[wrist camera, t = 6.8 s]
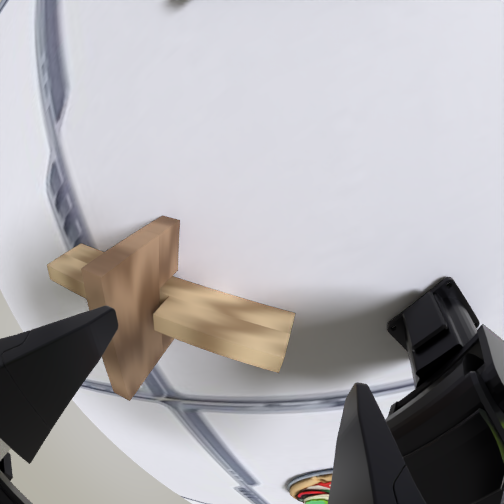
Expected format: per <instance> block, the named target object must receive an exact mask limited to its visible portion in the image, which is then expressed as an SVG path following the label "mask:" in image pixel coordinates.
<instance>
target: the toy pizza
mask: <svg viewBox="0 0 504 504" xmlns="http://www.w3.org/2000/svg"><path fill="white" fill-rule="evenodd" d="M332 473H333V469H331V470H325V471H320V472H315V473H311V474H307V475H304V476H301V477H299V478H297V479H295V480H293V481H292V482H290V483H289V485H288V491H289V492H290V495H291V496H292V497H294V498H295V499H297V500H298V501H301V502H303V503H304V504H328V499H329V493H330V487H331V480H332Z"/></svg>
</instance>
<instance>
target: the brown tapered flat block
mask: <svg viewBox="0 0 504 504" xmlns="http://www.w3.org/2000/svg"><path fill="white" fill-rule="evenodd" d="M179 228H180V220H177V219H173V218H169V217H165V216H161V217H159V218H158V219H156V220H154V221H153V222H151V223H150V224H148V225H146V226H145V227H143V228H141V229H140V230H138V231H137V232H135V233H133V234H132V235H130V236H129V237H127V238H126V239H124V240H123V241H121V242H119V243H118V244H116V245H115V246H113V247H112V248H110V249H109V250H107V251H106V252H104V253H103V254H101V255H100V256H98V257H97V258H95V259H94V260H92V261H91V262H90V263H88V264H87V265H85V266H84V267H82V268H81V271H82V277H83V282H84V288H85V293H86V297H87V302H88V306H89V311H90V310H93V309H96V308H99V307H102V306H105V305H107V306H110V307H112V308H114V309H115V311H116V315H117V319H118V324H119V325H118V330H117V332H116V333H115V335H114V337H113V338H112V340H111V342H110V343H109V345H108V347H107V348H106V350H105V352H104V354H103V355H102V358H103V362H104V365H105V368H106V371H107V374H108V377H109V380H110V382H111V385H112V388H113V391H114V392H115V393H116V394H118V395H120V396H122V397H124V398H125V399H127V400H129V401H130V400H131V399H132V397H133V396H134V394H135V393H136V392H137V390H138V389H139V387H140V386H141V385H142V383H143V382H144V380H145V379H146V378H147V376H148V375H149V373H150V372H151V370H152V369H153V368H154V366H155V365H156V363H157V362H158V361H159V359H160V358H161V356H162V355H163V354H164V352H165V351H166V349H167V348H168V347H169V345H170V344H171V343H172V341H173V340H174V338H172V337H170V336H167V335H165V334H162V333H160V332H157V331H155V330H154V320H153V314H154V313H155V312H156V310H157V309H158V308H159V307H160V292H159V289H160V288H161V287H162V286H163V285H164V284H165V283H166V282H167V281H168V280H169V279H170V278H171V277H172V276H173V275H174V274H175V273H176V272H177V271H178V248H179Z"/></svg>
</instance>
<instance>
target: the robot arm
mask: <svg viewBox="0 0 504 504" xmlns="http://www.w3.org/2000/svg"><path fill="white" fill-rule="evenodd" d="M449 282H450V284H449V285H448V286H446V285H447V284H448V283H449ZM474 323H475V324H474ZM118 325H119V324H118V319H117V315H116V311H115V309H114V308H112V307H110V306H107V305H105V306H102V307H99V308H96V309H93V310H90V311H87V312H84V313H81V314H78V315H75V316H72V317H69V318H66V319H63V320H60V321H57V322H54V323H51V324H48V325H45V326H42V327H38V328H35V329H32V330H31V331H30V330H29V331H26V332H23V333H20V334H17V335H13V336H9V337H6V338H1V339H0V504H32V503H31V502H30V501H29V500H28V499H27V498H26V497H25V496H24V495H23V494H22V493H21V492H20V491H19V490H18V489H17V488H16V487H15V486H14V485H13V484H12V483H11V482H10V481H11V479H12V478H13V476H12V467H11V457H10V454H9V453H8V451H9V450H10V449H12V450H14V451H15V452H16V453H17V454H18V455H19V456H21V457H22V458H23V459H24V460H26V461H27V462H28V463H29V464H30V463H31V462H32V460H33V458H34V457H35V455H36V453H37V452H38V450H39V449H40V447H41V445H42V444H43V442H44V441H45V439H46V437H47V436H48V434H49V433H50V431H51V429H52V428H53V426H54V425H55V423H56V422H57V420H58V419H59V417H60V416H61V414H62V413H63V411H64V409H65V408H66V407H67V405H68V404H69V402H70V401H71V399H72V398H73V397H74V395H75V394H76V392H77V391H78V389H79V388H80V387H81V385H82V384H83V382H84V381H85V379H86V378H87V377H88V375H89V374H90V372H91V371H92V370H93V368H94V367H95V366H96V364H97V363H98V361H99V360H100V358H101V357H102V355H103V354H104V352H105V350H106V348H107V347H108V345H109V343H110V342H111V340H112V338H113V337H114V335H115V333H116V332H117V330H118ZM392 326H395V327H393V328H391V327H392ZM478 326H479V321H478V319H477V317H476V315H475V314H474V312H473V310H472V309H471V307H470V305H469V304H468V302H467V300H466V299H465V297H464V296H463V294H462V292H461V291H460V289H459V288H458V286H457V285H456V283H455V282H454V280H453V279H452V278H451V277H446V278H445V279H443V280H442V281H441V282H440V283H439V284H438V285H436V286H435V287H434V288H433V289H432V290H430V291H429V292H428V293H426V294H425V295H424V296H422V297H421V298H420V299H419V300H417V301H416V302H415V303H414V304H412V305H411V306H410V307H408V308H407V309H406V310H404V311H403V312H402V313H401V314H399V315H398V316H397V317H395V318H394V319H393V320H391V321H390V322H389V323H388V324H387V330H388V332H389V333H390V334H391V335H392V336H393V337H394V338H395V339H396V340H397V341H398V342H399V343H400V344H401V345H402V346H403V347H404V348H405V349H406V350H407V351H408V354H409V358H410V363H411V369H412V374H413V379H414V385H415V390H414V391H412V392H411V393H410V394H408V395H407V396H406V397H404V398H403V399H402V400H400V401H399V402H396V403H394V404H393V405H391V408H390V411H389V415H388V417H387V419H386V420H385V419H384V417H383V415H382V413H381V410H380V408H379V406H378V404H377V402H376V400H375V398H374V396H373V394H372V392H371V390H370V389H369V387H368V385H367V384H363V383H355V384H354V385H353V387H352V389H351V390H350V392H349V394H348V395H347V397H346V400H345V404H344V409H343V414H342V419H341V423H340V428H339V432H338V437H337V442H336V450H335V459H334V466H333V473H332V480H331V487H330V493H329V499H328V504H504V341H503V340H502V339H501V338H500V337H499V336H497V335H496V334H495V333H494V332H492V331H491V330H490V329H489V328H487V327H486V326H485V325H484V324H482V325H481V326H480V328H479V329H478V330H477V329H476V328H477V327H478Z"/></svg>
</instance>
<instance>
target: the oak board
mask: <svg viewBox="0 0 504 504" xmlns="http://www.w3.org/2000/svg"><path fill="white" fill-rule="evenodd" d="M103 253H104V252H102V251H99V250H97V249H94V248H91V247H89V246H86V245H84V244H79V245H78V246H76V247H74V248H73V249H71V250H70V251H68V252H66V253H65V254H63V255H62V256H60V257H58V258H57V259H55V260H54V261H52V262H51V263H49V264H47V268H48V272H49V276H50V279H51V280H52V281H54V282H56V283H58V284H60V285H61V286H63V287H65V288H67V289H69V290H71V291H72V292H74V293H76V294H78V295H80V296H82V297H84V298H86V299H87V297H86V293H85V288H84V282H83V277H82V271H81V268H82V267H84V266H85V265H87V264H88V263H90V262H91V261H92V260H94V259H95V258H97V257H98V256H100V255H101V254H103ZM159 292H160V307H159V308H158V309H157V310H156V312H155V313H154V314H153V320H154V330H155V331H157V332H160V333H162V334H165V335H167V336H170V337H172V338H175V339H177V340H180V341H183V342H185V343H188V344H191V345H193V346H196V347H199V348H202V349H204V350H207V351H210V352H213V353H216V354H219V355H222V356H225V357H228V358H231V359H234V360H237V361H240V362H243V363H246V364H250V365H253V366H256V367H260V368H263V369H267V370H270V371H274V372H277V373H279V371H280V368H281V365H282V363H283V360H284V357H285V353H286V349H287V345H288V341H289V337H290V333H291V329H292V325H293V321H294V317H295V313H292V312H289V311H285V310H282V309H278V308H274V307H271V306H267V305H264V304H260V303H257V302H254V301H250V300H247V299H243V298H240V297H237V296H233V295H230V294H227V293H223V292H220V291H217V290H214V289H211V288H207V287H204V286H201V285H198V284H195V283H192V282H189V281H185V280H182V279H179V278H176V277H173V276H172V277H171V278H170V279H169V280H168V281H167V282H166V283H165V284H164V285H163V286H162V287H161V288H160V289H159Z"/></svg>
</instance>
